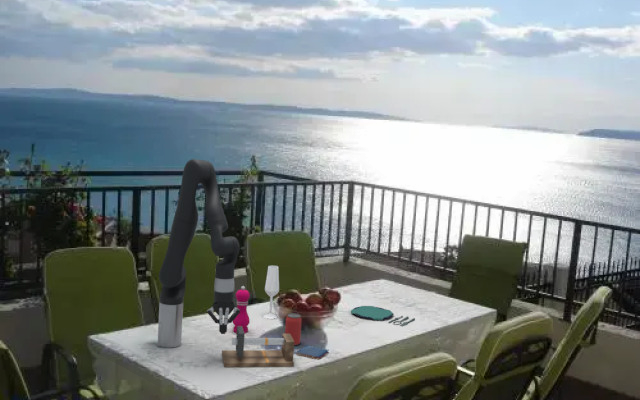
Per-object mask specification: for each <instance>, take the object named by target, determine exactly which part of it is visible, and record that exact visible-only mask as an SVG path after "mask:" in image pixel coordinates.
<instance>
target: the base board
mask: <svg viewBox="0 0 640 400" xmlns="http://www.w3.org/2000/svg"><path fill="white" fill-rule="evenodd" d="M281 338H284V339H285V345H281V349H280V350H279V349H276V350H274V349H273V350H272V349H270V350H269V349H268V350H267V349H265V350H261V349H260V350H258V349H257V350H249V349H248V350H245V349H244V352H243V357H238V356H237V352H236V349H235V350H221V357H222V360H223V361H222V363H223V367H224V368H273V367H274V368H284V367H286V368H287V367H289V368H290V367H294V366H295V362H294V354H295V353H294V351H295V345H294V340H293V338H292V336H291V334H285V333H282V336H281Z"/></svg>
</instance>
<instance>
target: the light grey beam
mask: <svg viewBox="0 0 640 400" xmlns="http://www.w3.org/2000/svg"><path fill="white" fill-rule="evenodd" d="M231 345H233V346H236V345H238V338H236V337H232V338H231ZM248 345H249V346H250V345H251V346H259V345H260V346H269V345H270V346H273V345H274V346H276V345H280V346H282V345H285V339H284V338H282V337H244V346H248Z"/></svg>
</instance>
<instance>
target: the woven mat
mask: <svg viewBox="0 0 640 400" xmlns="http://www.w3.org/2000/svg"><path fill="white" fill-rule="evenodd" d="M329 351H330V350H329V349H328V348H327V349H326V348H322V347H316V346H312V345H305V346H304V347H302V348H301V349H299V350H297V352H296V353H295V354H296V356H298V357H300V356H301V357H302V356H303V357H304V358H310V359H314V360H318V361H319V360H320V359H322V358H323V357H325V355H328V354H329V353H330V352H329Z"/></svg>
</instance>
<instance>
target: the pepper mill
mask: <svg viewBox="0 0 640 400" xmlns="http://www.w3.org/2000/svg"><path fill="white" fill-rule="evenodd" d="M250 296H251V295H250V292H249V291H248V290H247V289H246V287H245V286H244V285H242V286H241V287H240V289H238V290H237V291H236V292H235V299H236V305H237V307H236V308H237V309H239V310H240V313H239V314H238V315H237V317H236V318H235V319H234V320H233V321H232V324H233V325H234V326H233V327H232V328H233V331H232V332H234V333H236V334H237V326H242V327H243V330H244V333H245V334H246V333H248V332H249V327H248V326H249V324H250V317H249V313H248V310H247V308H248V305H249V299H250Z"/></svg>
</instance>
